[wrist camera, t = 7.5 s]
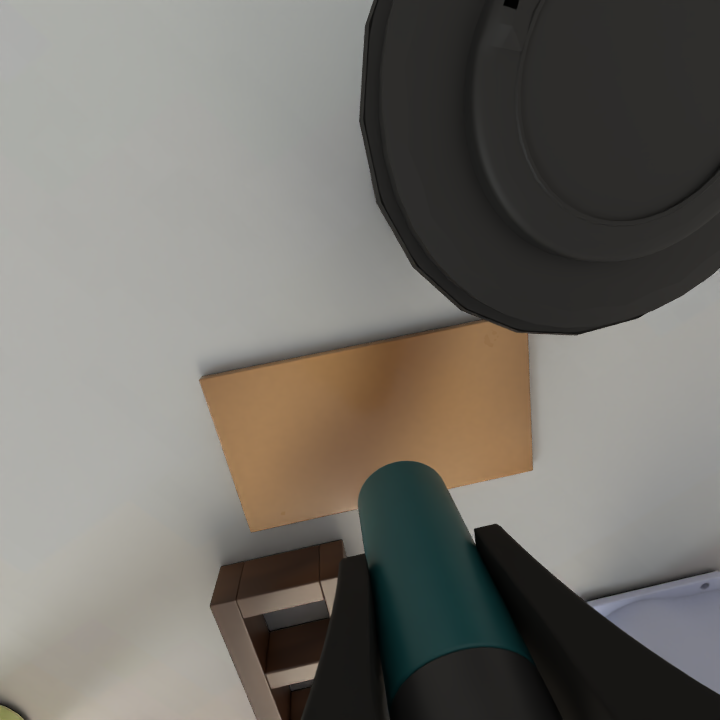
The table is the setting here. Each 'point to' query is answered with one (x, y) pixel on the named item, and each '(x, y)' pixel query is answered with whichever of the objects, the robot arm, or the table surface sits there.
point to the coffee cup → (548, 152)
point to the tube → (8, 714)
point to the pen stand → (281, 647)
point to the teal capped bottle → (441, 608)
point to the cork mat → (373, 418)
